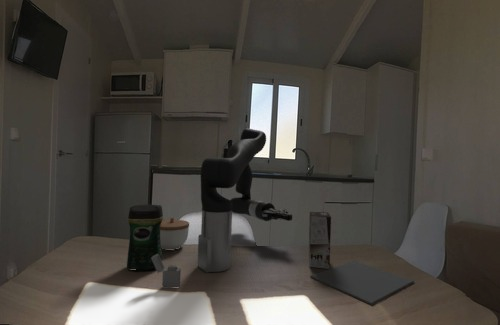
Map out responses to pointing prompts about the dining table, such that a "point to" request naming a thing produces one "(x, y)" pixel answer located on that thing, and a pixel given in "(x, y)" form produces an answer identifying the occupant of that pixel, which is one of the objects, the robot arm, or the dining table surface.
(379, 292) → the rubber mat
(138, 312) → the dining table surface
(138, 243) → the coffee jar
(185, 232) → the lidded bowl
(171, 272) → the lighter
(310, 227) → the coffee box
